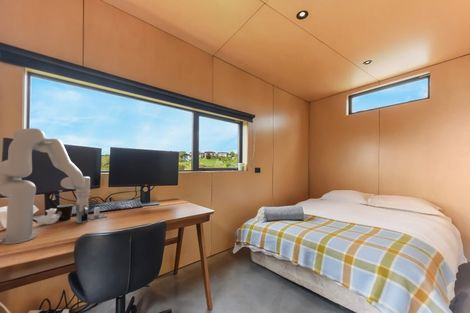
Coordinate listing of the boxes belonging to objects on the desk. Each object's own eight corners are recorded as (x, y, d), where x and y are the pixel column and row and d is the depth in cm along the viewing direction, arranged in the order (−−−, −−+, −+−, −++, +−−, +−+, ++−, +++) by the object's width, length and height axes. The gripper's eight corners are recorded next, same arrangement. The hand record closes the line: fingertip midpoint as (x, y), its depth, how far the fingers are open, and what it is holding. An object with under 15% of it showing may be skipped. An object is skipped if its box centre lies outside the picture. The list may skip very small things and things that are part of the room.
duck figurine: (38, 230, 125) (44, 217, 123) (33, 221, 127) (39, 208, 125) (60, 224, 136) (67, 212, 134) (55, 216, 138) (62, 204, 136)
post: (90, 220, 140) (91, 210, 140) (86, 217, 146) (86, 207, 146) (106, 217, 148) (107, 207, 148) (102, 214, 154) (102, 205, 154)
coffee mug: (74, 219, 141) (75, 205, 141) (59, 222, 133) (59, 207, 133) (68, 216, 147) (68, 203, 147) (53, 219, 140) (53, 205, 140)
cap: (78, 223, 132) (78, 213, 132) (76, 221, 136) (76, 212, 136) (87, 221, 136) (88, 212, 137) (85, 220, 140) (85, 210, 140)
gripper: (72, 193, 139) (72, 218, 139) (79, 197, 128) (79, 223, 128) (85, 192, 145) (85, 215, 144) (93, 195, 134) (92, 220, 134)
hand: (82, 219), depth 136 cm, fingers open, 9 cm apart
